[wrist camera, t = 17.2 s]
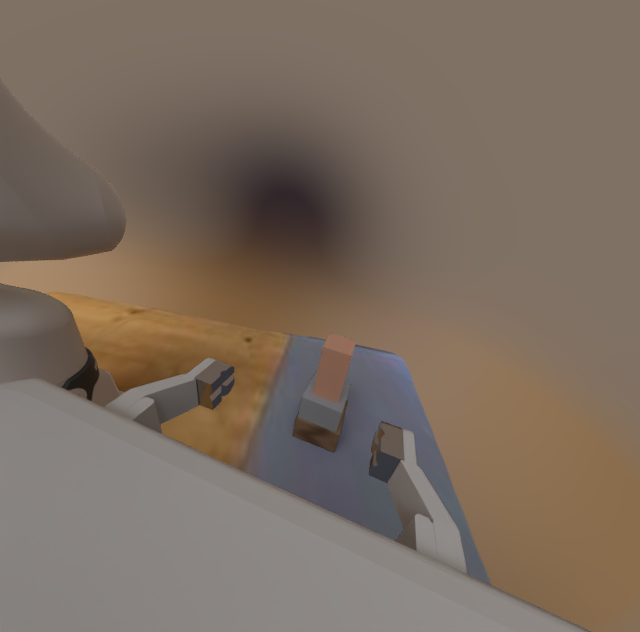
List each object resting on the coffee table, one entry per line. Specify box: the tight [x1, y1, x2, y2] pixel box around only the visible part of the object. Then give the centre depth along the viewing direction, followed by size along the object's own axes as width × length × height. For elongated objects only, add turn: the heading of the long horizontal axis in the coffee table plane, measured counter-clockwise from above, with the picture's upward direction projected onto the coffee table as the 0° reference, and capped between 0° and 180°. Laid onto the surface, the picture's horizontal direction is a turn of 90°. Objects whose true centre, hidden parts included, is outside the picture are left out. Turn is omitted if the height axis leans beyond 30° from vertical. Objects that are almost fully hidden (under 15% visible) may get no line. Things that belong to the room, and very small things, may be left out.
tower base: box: [293, 400, 348, 453], centre depth 43 cm, size 8×8×5 cm
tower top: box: [298, 372, 351, 433], centre depth 41 cm, size 7×7×5 cm
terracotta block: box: [313, 333, 356, 403], centre depth 38 cm, size 4×4×10 cm
